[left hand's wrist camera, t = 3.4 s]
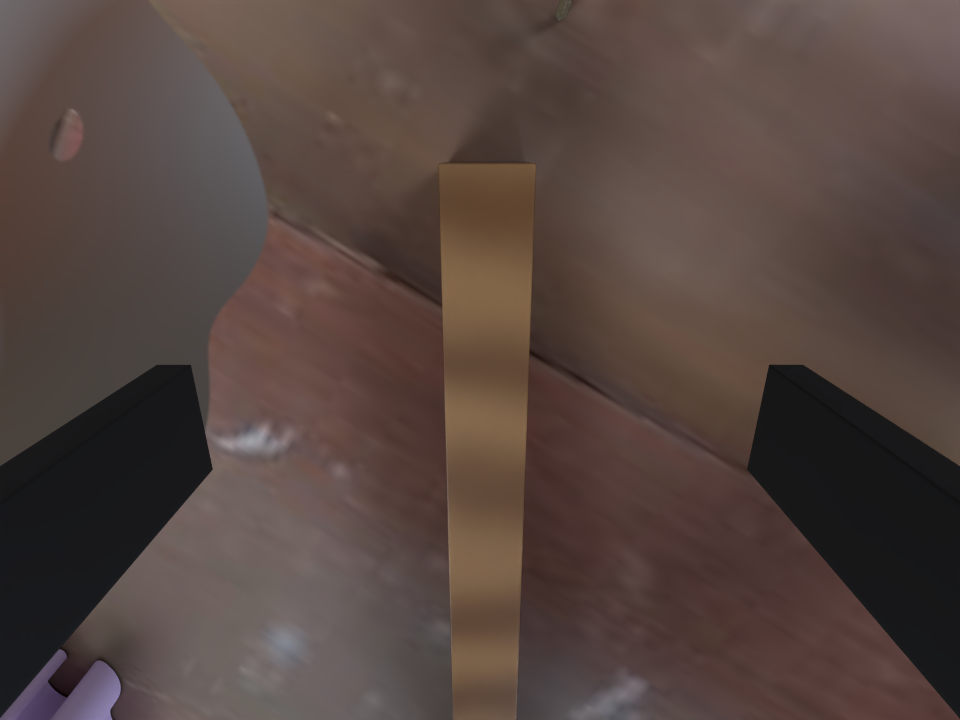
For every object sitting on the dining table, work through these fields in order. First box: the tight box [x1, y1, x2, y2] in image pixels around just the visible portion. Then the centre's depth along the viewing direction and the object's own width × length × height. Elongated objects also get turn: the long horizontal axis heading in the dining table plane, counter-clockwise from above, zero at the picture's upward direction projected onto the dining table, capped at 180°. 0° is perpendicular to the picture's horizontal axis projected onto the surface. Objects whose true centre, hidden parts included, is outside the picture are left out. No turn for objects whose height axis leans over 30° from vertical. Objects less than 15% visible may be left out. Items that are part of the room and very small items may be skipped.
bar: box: [438, 162, 536, 720], centre depth 41 cm, size 60×5×7 cm, turn 0°
